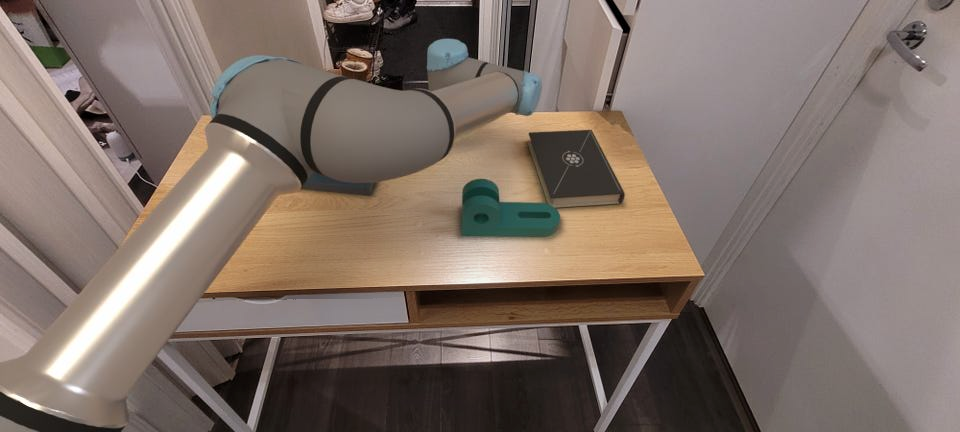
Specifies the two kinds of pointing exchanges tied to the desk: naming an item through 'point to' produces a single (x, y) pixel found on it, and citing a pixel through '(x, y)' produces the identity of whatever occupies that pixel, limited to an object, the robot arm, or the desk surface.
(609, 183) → the book
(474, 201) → the bracket
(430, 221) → the desk surface
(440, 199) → the desk surface
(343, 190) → the tray
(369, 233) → the desk surface
